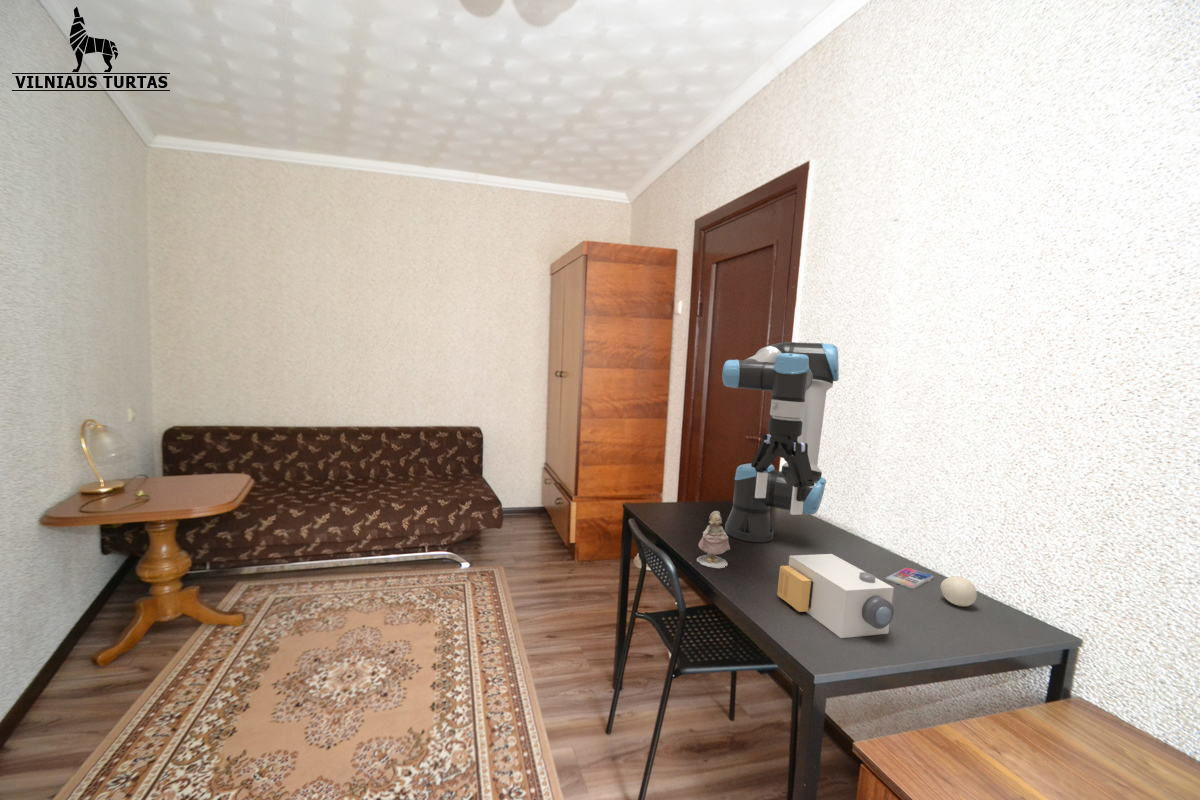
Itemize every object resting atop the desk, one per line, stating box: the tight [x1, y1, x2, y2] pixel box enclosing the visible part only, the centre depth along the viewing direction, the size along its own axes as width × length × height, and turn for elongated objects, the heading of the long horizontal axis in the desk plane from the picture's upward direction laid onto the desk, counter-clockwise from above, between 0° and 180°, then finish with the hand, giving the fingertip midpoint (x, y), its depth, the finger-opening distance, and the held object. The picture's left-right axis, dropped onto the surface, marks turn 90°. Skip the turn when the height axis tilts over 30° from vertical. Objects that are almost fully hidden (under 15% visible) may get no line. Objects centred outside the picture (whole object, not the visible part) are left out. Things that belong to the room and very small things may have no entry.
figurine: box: [689, 510, 731, 569], centre depth 136 cm, size 11×10×15 cm
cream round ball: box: [940, 576, 978, 607], centre depth 120 cm, size 7×7×7 cm
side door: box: [776, 565, 811, 613], centre depth 113 cm, size 8×2×7 cm, turn 16°
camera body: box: [788, 553, 895, 639], centre depth 109 cm, size 21×12×11 cm, turn 16°
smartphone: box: [884, 567, 935, 590], centre depth 134 cm, size 7×1×15 cm
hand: (777, 505), depth 120 cm, fingers open, 13 cm apart
